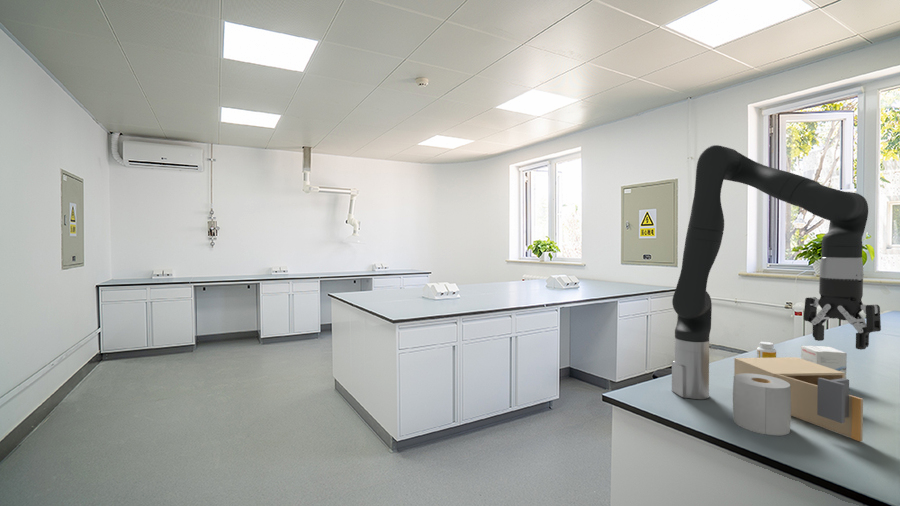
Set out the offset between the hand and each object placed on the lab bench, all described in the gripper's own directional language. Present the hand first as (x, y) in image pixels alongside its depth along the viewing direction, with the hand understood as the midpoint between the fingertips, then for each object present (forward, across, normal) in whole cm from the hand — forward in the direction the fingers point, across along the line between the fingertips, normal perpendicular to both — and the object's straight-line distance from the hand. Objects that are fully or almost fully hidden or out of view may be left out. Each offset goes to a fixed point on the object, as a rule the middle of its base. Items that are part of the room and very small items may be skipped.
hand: (839, 344), depth 99 cm
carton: (+23, -22, +15) cm, 35 cm away
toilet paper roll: (+23, -10, -10) cm, 27 cm away
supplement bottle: (+23, -44, +35) cm, 61 cm away
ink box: (+23, -28, +39) cm, 53 cm away
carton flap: (+22, -7, 0) cm, 23 cm away
